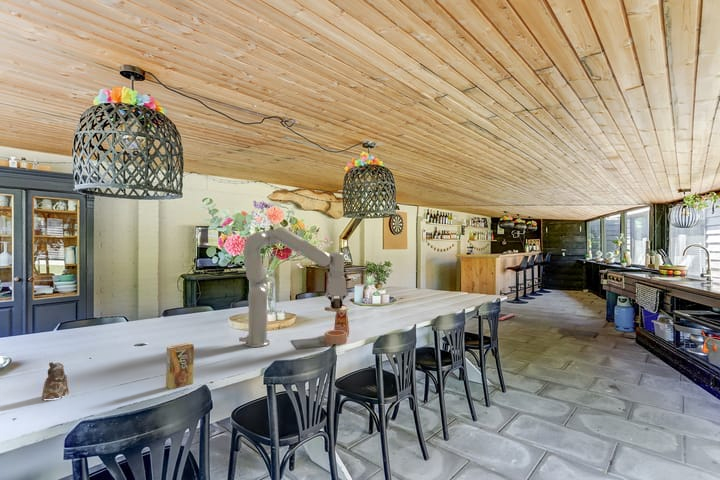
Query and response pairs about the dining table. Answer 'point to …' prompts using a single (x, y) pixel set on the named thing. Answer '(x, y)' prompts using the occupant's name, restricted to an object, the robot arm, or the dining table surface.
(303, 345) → the mat
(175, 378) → the candy box
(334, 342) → the bowl
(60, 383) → the figurine
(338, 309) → the lid
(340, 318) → the milk carton
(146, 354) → the dining table surface
